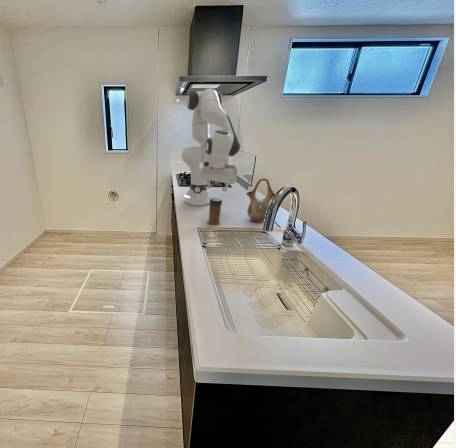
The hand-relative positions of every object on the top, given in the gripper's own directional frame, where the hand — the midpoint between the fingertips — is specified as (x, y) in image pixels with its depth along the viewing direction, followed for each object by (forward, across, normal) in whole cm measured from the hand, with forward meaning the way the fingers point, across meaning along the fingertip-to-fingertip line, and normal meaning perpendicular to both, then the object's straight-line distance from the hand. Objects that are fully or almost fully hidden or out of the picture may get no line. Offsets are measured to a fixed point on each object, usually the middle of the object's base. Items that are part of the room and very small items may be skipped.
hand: (217, 189), depth 130 cm
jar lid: (+6, 0, 0) cm, 6 cm away
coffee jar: (+19, 0, 0) cm, 19 cm away
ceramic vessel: (+20, -16, -21) cm, 33 cm away
